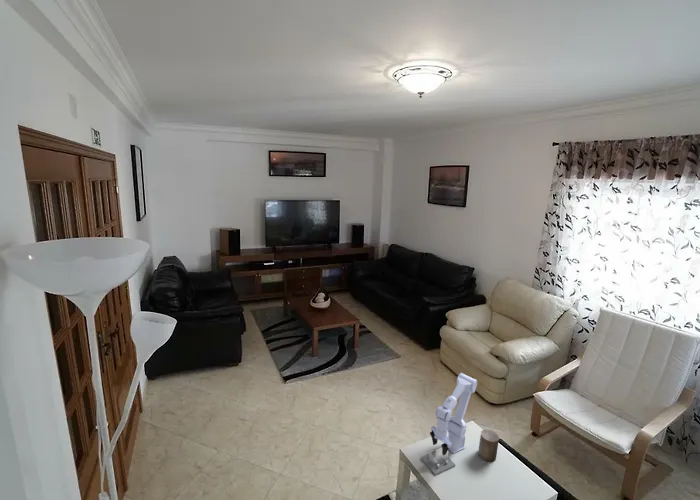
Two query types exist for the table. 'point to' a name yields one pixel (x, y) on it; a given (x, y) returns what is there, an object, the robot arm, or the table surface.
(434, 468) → the pin tray
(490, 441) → the pillar candle
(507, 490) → the table surface
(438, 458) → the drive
